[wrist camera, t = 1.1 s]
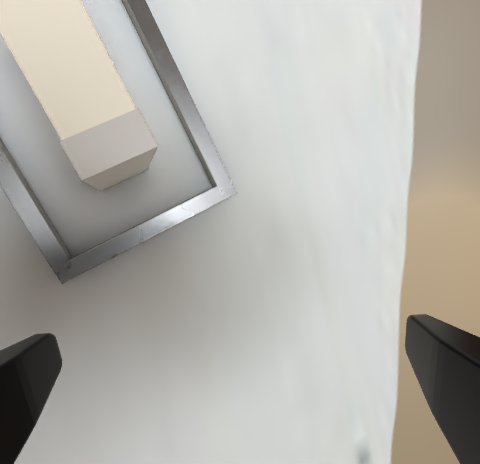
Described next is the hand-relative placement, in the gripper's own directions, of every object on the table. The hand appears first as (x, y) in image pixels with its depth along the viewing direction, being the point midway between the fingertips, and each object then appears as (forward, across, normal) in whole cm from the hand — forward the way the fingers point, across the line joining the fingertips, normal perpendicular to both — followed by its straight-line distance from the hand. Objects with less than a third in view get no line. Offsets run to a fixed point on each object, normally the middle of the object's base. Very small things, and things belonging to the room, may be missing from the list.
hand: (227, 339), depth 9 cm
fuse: (+14, +9, -7) cm, 18 cm away
